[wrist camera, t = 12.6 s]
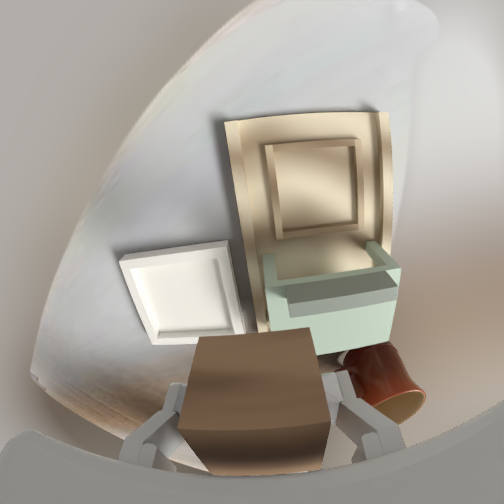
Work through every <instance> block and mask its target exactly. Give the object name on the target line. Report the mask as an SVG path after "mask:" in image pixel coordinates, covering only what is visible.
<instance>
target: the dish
mask: <svg viewBox="0 0 504 504" xmlns="http://www.w3.org/2000/svg"><path fill="white" fill-rule="evenodd" d="M119 264H120V267H121V269H122V272H123V275H124V278H125V280H126V283H127V286H128V288H129V291H130V293H131V296H132V298H133V301H134V303H135V306H136V308H137V311H138V313H139V315H140V318H141V320H142V322H143V325H144V327H145V329H146V331H147V334H148V336H149V338H150V340H151V342H152V344H153V345H171V344H197V343H198V340H199V337H202V336H221V335H236V334H246V329H245V324H244V319H243V314H242V309H241V304H240V299H239V294H238V289H237V284H236V279H235V274H234V268H233V263H232V258H231V253H230V247H229V242H228V240H224V241H216V242H209V243H202V244H194V245H187V246H180V247H173V248H166V249H158V250H152V251H145V252H138V253H131V254H125V255H124V256H123V257H122V258H121V259H120V260H119Z"/></svg>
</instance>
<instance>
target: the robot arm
mask: <svg viewBox="0 0 504 504" xmlns="http://www.w3.org/2000/svg"><path fill="white" fill-rule="evenodd" d="M321 377H322V381H323V385H324V390H325V394H326V399H327V403H328V408H329V413H330V417H331V425H332V424H336V426H337V427H339V429H340V430H342V432H344V433H345V434H346V435H347V436H348V437H349V438H350V439H351V440H352V441H353V442H354V443H355V444H356V445H357V446H358V447H357V449H356V451H355V453H354V455H353V457H352V464H349V465H344V466H339V467H334V468H328V469H322V470H316V471H309V472H307V471H305V472H296V473H287V474H274V475H252V476H228V475H225V476H217V475H200V474H190V473H181V472H176V467H175V466H174V465H173V464H172V462H170V461H169V459H168V458H169V457H170V456H171V455H172V453H173V452H174V451H175V450H176V449H177V448H178V447H179V446H180V444H181V443H182V442H183V441H184V440H185V439H184V438H183V436H182V435H181V433H180V432H179V431H178V429H177V426H178V422H179V418H180V413H181V409H182V405H183V400H184V396H185V392H186V388H187V384H188V383H171V384H170V385H169V389H168V392H167V395H166V399H165V402H164V405H163V409H162V411H161V410H159V411H158V412H157V413H155V414H154V415H153V416H152V417H151V418H149V419H148V420H147V421H146V422H145V423H143V424H142V425H141V426H140V427H139V428H137V429H136V430H135V431H134V432H132V433H131V434H130V435H129V436H127V437H126V438H125V440H124V443H123V446H122V449H121V452H120V455H119V458H118V460H114V459H110V458H106V457H103V456H100V455H97V454H94V453H91V452H87V451H85V450H82V449H79V448H76V447H73V446H71V445H68V444H65V443H63V442H60V441H58V440H56V439H53V438H51V437H48V436H46V435H44V434H42V433H40V432H38V431H36V430H33V429H29V430H26V431H24V432H22V433H20V434H18V435H17V436H15V437H13V438H11V439H10V440H9V441H8V442H7V443H6V445H5V446H4V448H3V450H2V451H1V453H0V504H504V400H503V401H501V402H499V403H497V404H496V405H494V406H493V407H491V408H490V409H488V410H486V411H485V412H483V413H481V414H479V415H478V416H476V417H474V418H472V419H470V420H468V421H467V422H465V423H463V424H461V425H459V426H457V427H455V428H453V429H451V430H449V431H446V432H444V433H442V434H440V435H438V436H436V437H433V438H431V439H428V440H426V441H423V442H421V443H419V444H416V445H413V446H411V447H408V448H406V446H405V443H404V440H403V437H402V435H401V432H400V429H399V426H398V424H396V423H395V422H393V421H392V420H391V419H389V418H388V417H386V416H385V415H383V414H382V413H381V412H379V411H378V410H376V409H375V408H373V407H372V406H371V405H369V404H368V403H366V402H365V401H364V400H362V399H361V398H356V395H355V391H354V388H353V385H352V382H351V379H350V376H349V373H348V371H347V370H344V371H338V372H331V373H325V374H321Z"/></svg>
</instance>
